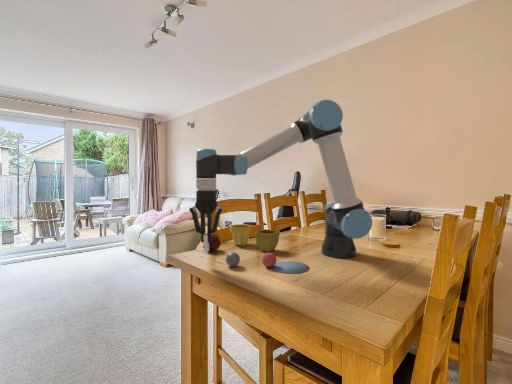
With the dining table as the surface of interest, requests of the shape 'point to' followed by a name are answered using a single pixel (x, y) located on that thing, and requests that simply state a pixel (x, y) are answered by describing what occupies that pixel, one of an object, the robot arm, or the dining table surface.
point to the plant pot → (240, 234)
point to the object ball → (269, 259)
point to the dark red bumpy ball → (214, 243)
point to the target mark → (290, 267)
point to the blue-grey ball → (232, 259)
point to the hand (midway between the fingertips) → (206, 250)
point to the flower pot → (267, 239)
